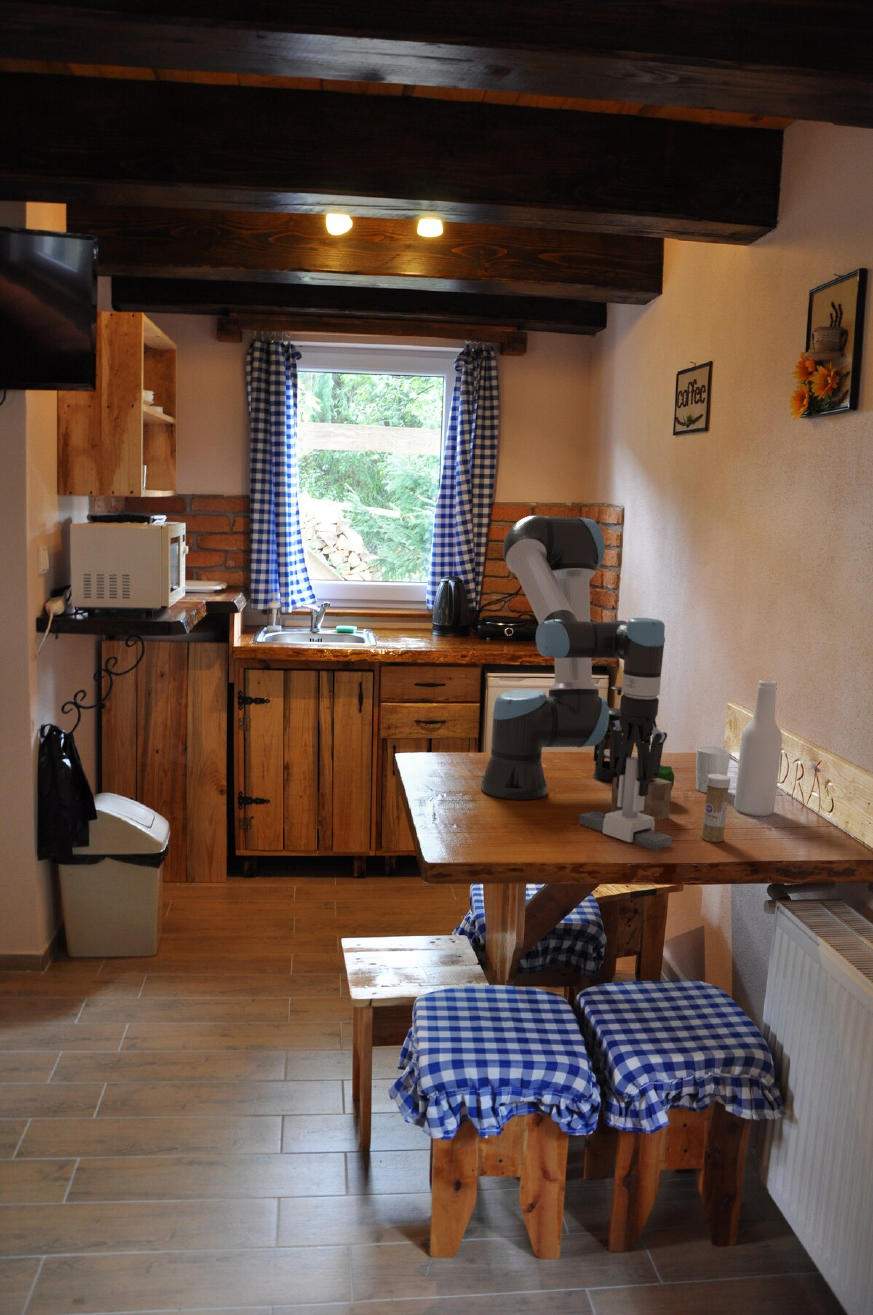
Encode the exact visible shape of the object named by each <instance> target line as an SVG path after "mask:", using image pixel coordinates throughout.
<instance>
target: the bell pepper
mask: <svg viewBox="0 0 873 1315" xmlns="http://www.w3.org/2000/svg"><path fill="white" fill-rule="evenodd" d="M658 778H660V779H663V780H667V781H670V782H672V788H671V792H672V791H673V788H674V787H673V786H674V783H675V774H674V771H673V768H672V766H669V765H664V766H663V765H662V764H660V769H659V775H658Z"/></svg>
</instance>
